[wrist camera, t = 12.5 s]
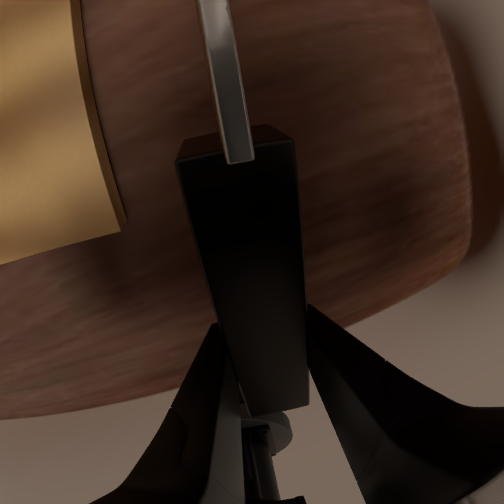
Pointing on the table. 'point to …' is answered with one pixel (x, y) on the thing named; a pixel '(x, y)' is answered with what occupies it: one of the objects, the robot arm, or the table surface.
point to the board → (50, 134)
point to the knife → (248, 230)
